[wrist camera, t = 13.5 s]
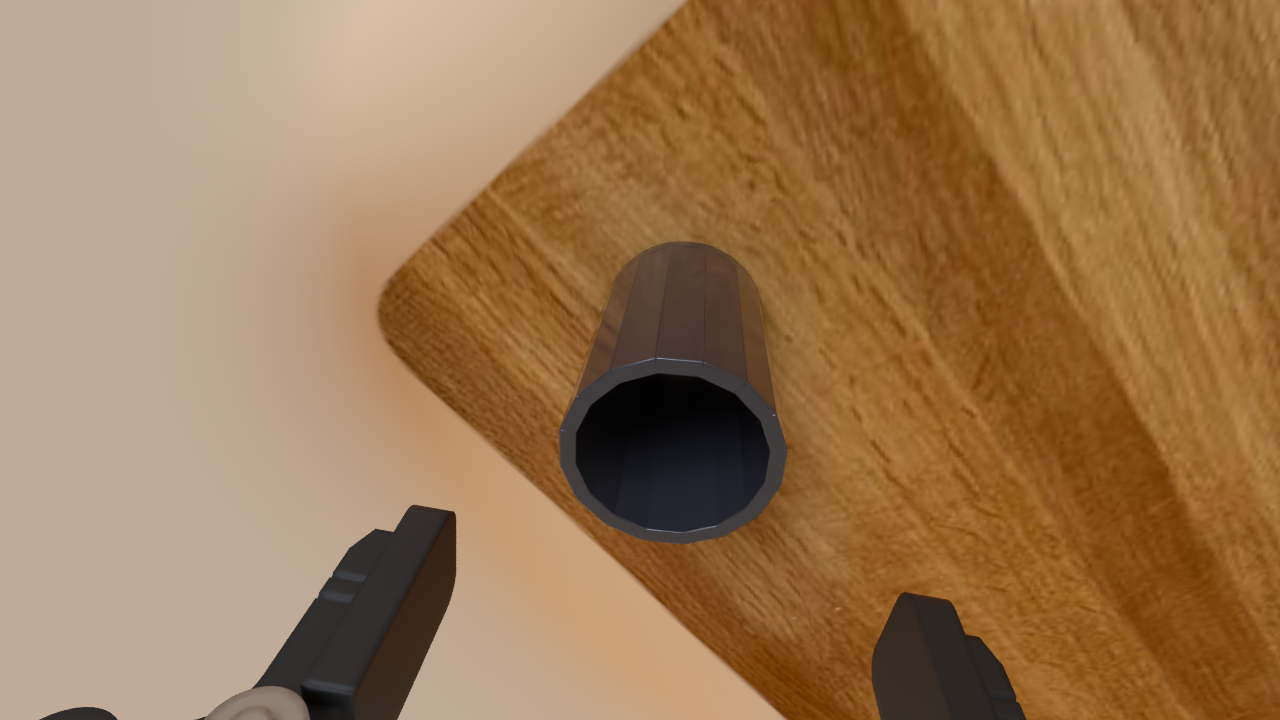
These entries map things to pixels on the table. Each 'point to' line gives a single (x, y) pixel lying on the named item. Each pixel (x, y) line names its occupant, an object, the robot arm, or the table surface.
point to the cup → (676, 401)
